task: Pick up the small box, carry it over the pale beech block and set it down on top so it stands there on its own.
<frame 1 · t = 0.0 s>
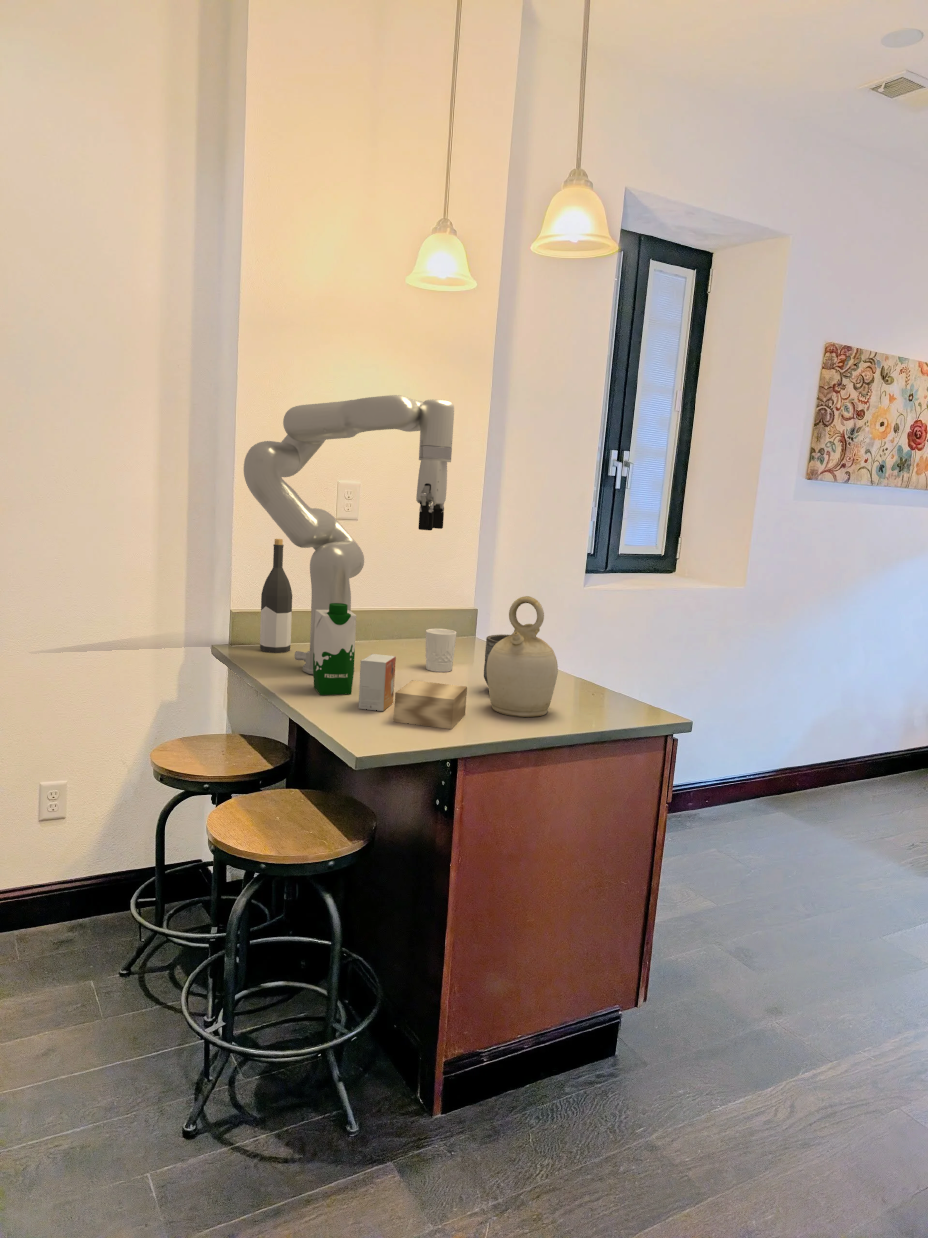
hand: (430, 529, 206), 37 cm above the worktop, tool pointing down, fingers open, 9 cm apart
white cup: (438, 670, 227), on the worktop
jug: (518, 710, 192), on the worktop
wine bottle: (275, 650, 238), on the worktop
small box: (376, 707, 188), on the worktop
beech block: (430, 718, 181), on the worktop
planter: (508, 693, 208), on the worktop
milk carton: (332, 691, 198), on the worktop
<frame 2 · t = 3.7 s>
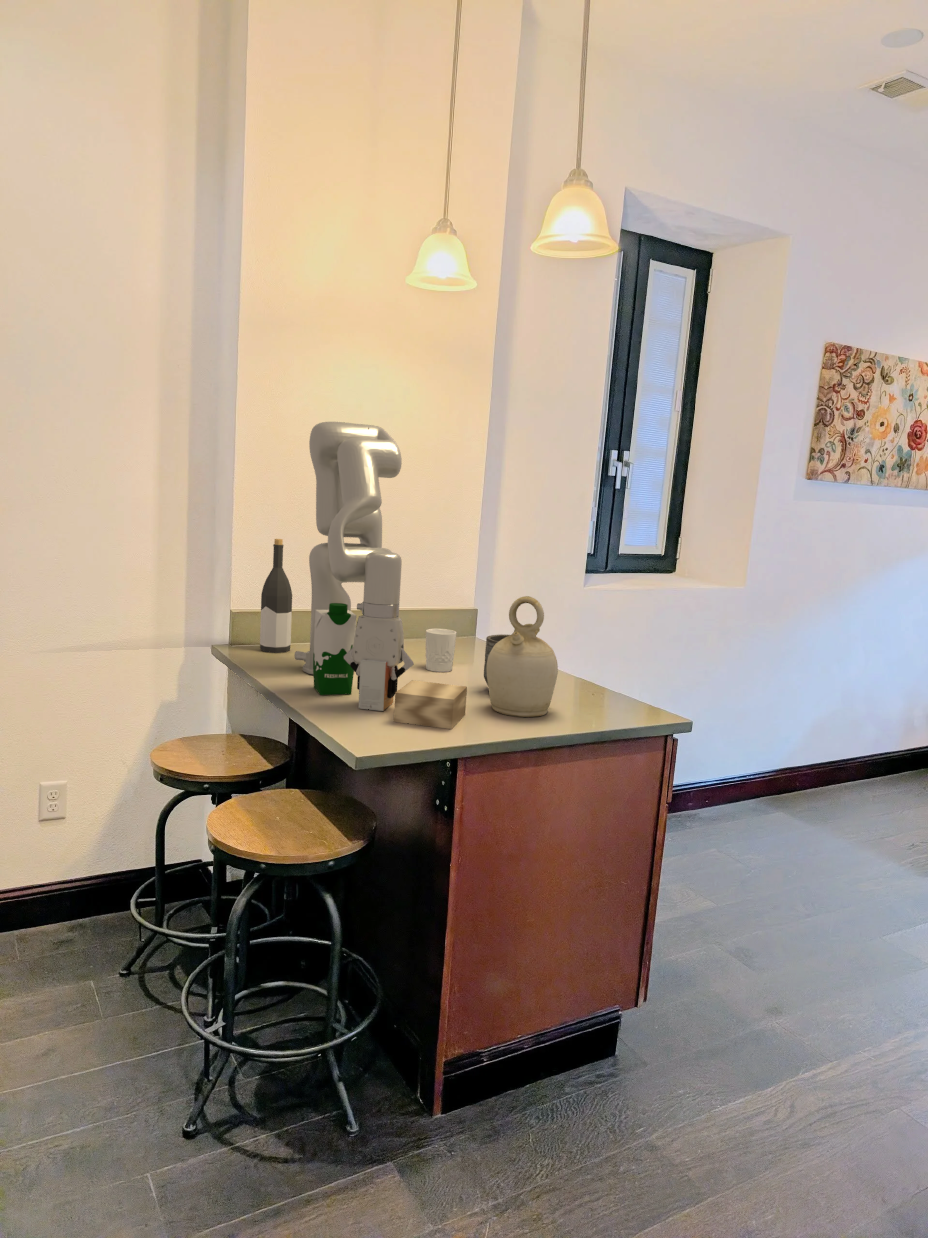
hand: (376, 694, 187), 3 cm above the worktop, tool pointing down, fingers closed on small box, 5 cm apart
small box: (376, 707, 188), on the worktop, touching gripper
everything else where it was.
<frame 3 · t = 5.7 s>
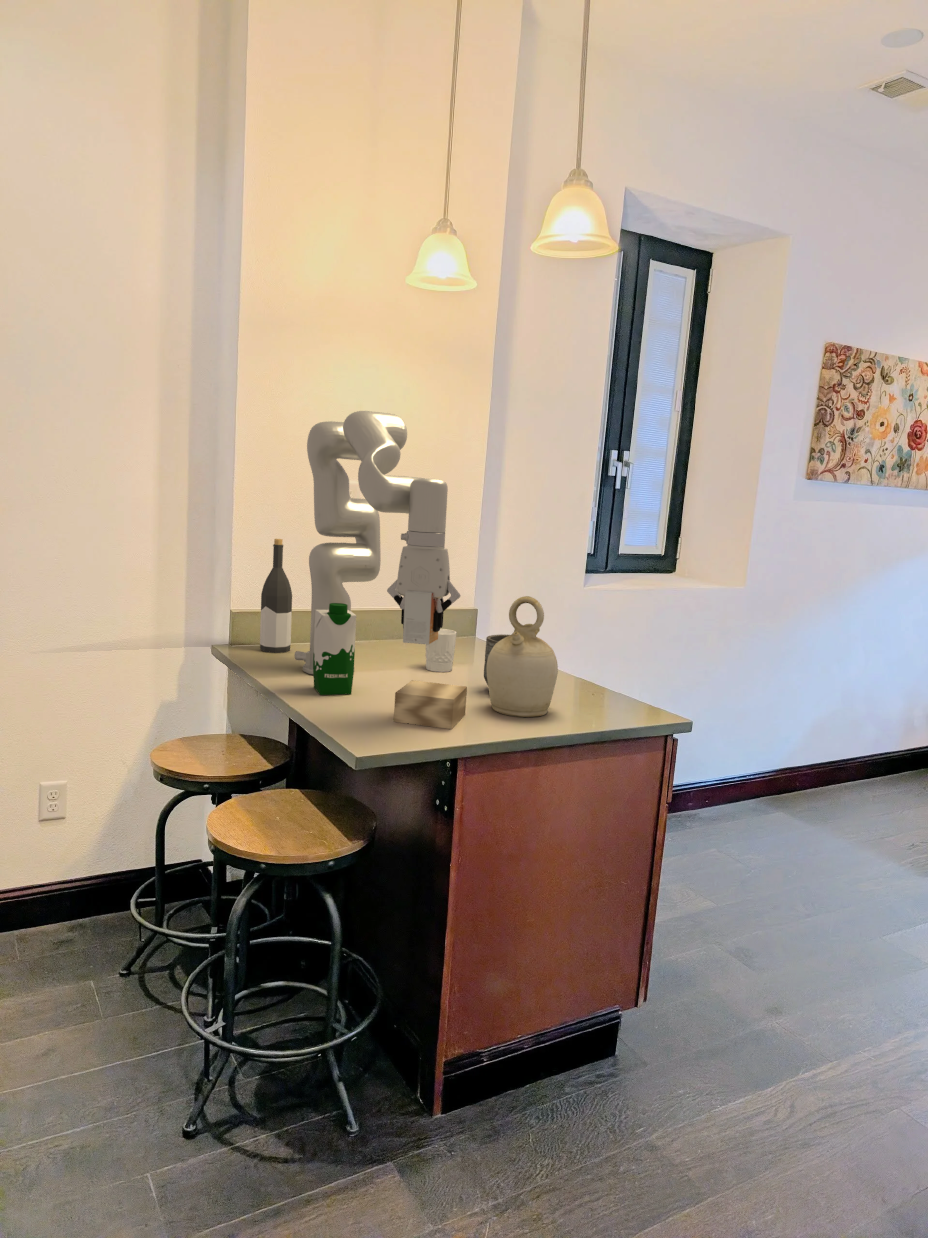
hand: (421, 628, 179), 18 cm above the worktop, tool pointing down, fingers closed on small box, 5 cm apart
small box: (420, 642, 180), point 15 cm above the worktop, touching gripper
everything else where it was.
when the fingers open (10 cm above the worktop, at t = 7.7 s): small box drops 1 cm, resting on beech block.
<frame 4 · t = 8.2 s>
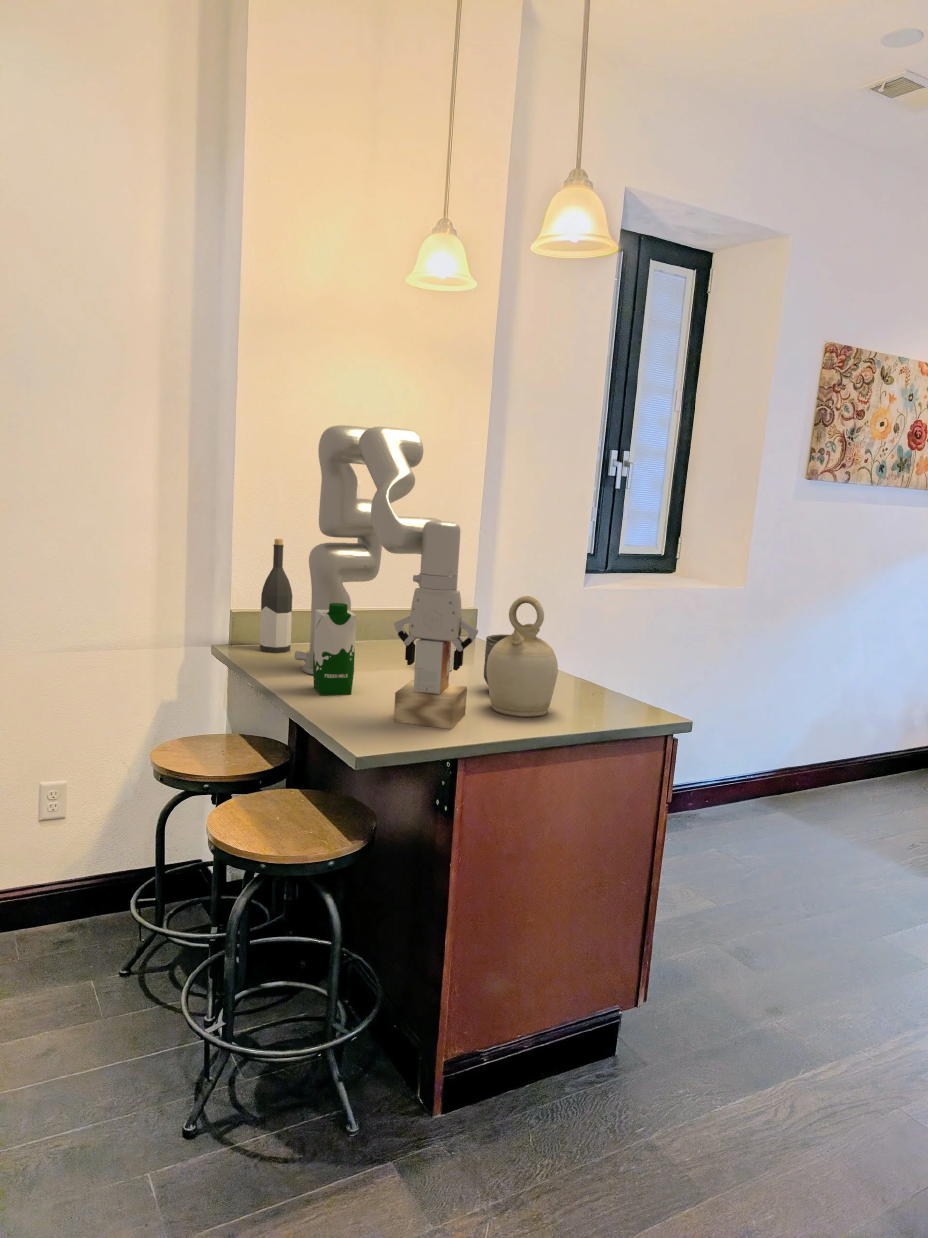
hand: (433, 666, 179), 11 cm above the worktop, tool pointing down, fingers open, 9 cm apart
small box: (431, 690, 180), point 6 cm above the worktop, touching beech block
everything else where it was.
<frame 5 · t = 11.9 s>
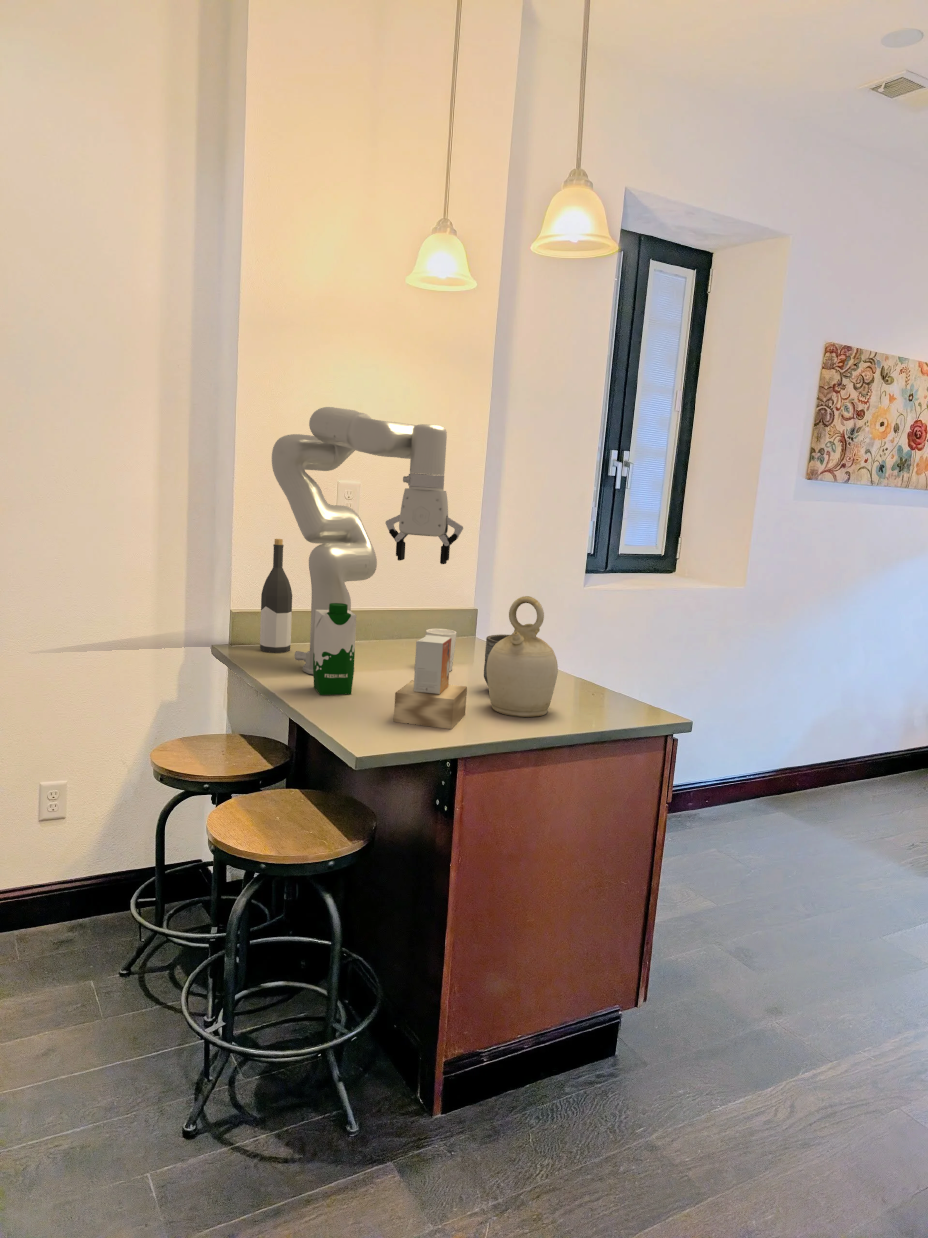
hand: (422, 561, 193), 30 cm above the worktop, tool pointing down, fingers open, 9 cm apart
nothing on the worktop moved.
at the end: small box inside the target area on the beech block (0.2 cm from its centre), point 5.8 cm above the beech block's base; small box tilted 0°; the gripper is holding nothing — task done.
